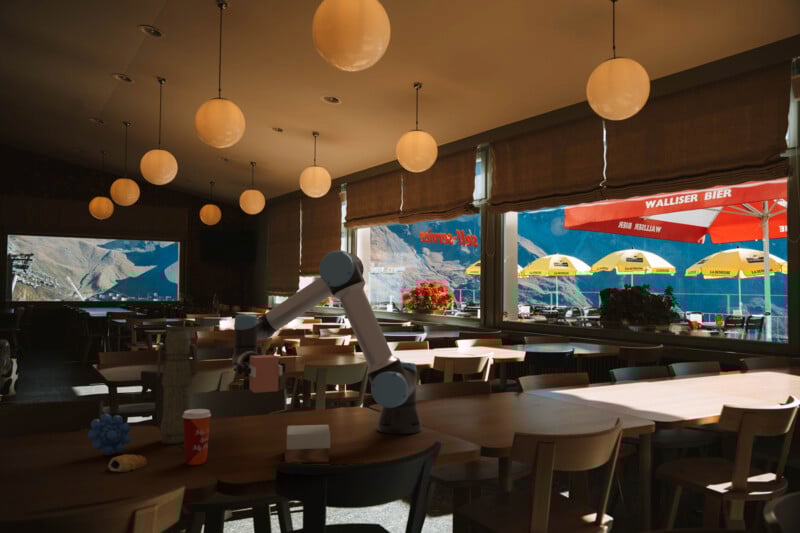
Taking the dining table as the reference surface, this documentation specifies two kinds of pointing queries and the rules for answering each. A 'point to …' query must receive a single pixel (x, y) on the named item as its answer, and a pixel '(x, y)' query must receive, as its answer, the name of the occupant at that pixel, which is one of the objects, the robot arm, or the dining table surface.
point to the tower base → (307, 455)
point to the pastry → (126, 463)
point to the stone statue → (176, 383)
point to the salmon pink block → (264, 373)
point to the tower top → (308, 437)
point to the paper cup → (196, 435)
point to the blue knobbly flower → (109, 434)
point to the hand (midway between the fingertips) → (267, 371)
